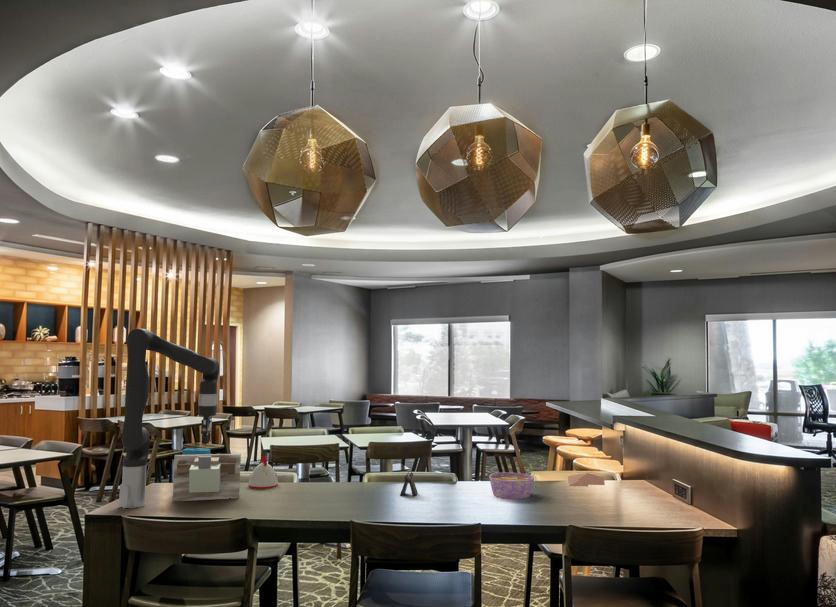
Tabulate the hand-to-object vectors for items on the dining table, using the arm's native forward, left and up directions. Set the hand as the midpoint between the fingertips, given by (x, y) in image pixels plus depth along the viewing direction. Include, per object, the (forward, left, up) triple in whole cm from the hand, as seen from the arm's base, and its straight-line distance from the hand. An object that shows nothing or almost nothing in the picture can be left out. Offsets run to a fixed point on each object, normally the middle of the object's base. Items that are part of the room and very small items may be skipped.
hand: (205, 442), depth 274 cm
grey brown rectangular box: (+8, +8, -27) cm, 29 cm away
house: (+132, -121, -28) cm, 181 cm away
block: (+14, +24, -27) cm, 39 cm away
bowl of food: (+85, -103, -27) cm, 136 cm away
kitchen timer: (+42, +9, -27) cm, 51 cm away
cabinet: (+2, +2, -20) cm, 21 cm away
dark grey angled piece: (+61, -64, -27) cm, 92 cm away
